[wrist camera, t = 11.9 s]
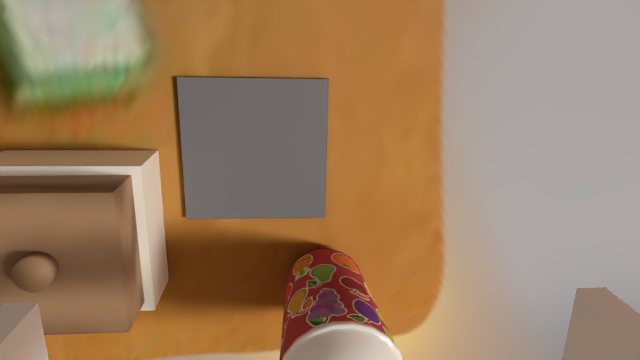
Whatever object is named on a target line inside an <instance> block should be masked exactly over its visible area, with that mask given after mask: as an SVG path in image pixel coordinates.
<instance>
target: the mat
mask: <svg viewBox="0 0 640 360" xmlns="http://www.w3.org/2000/svg"><path fill="white" fill-rule="evenodd" d="M177 89H178V104H179V119H180V134H181V148H182V163H183V178H184V192H185V207H186V219H236V218H322V217H325V190H326V151H327V113H328V79H305V78H237V77H177Z"/></svg>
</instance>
